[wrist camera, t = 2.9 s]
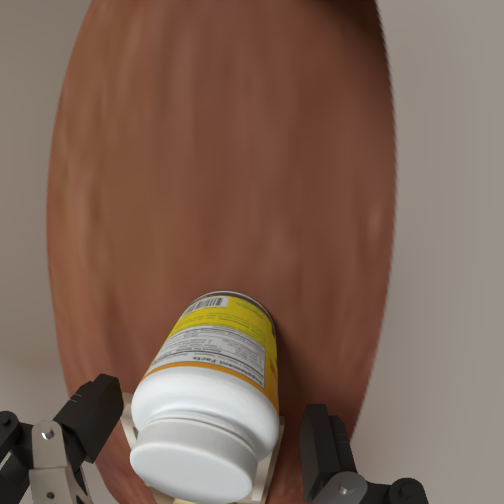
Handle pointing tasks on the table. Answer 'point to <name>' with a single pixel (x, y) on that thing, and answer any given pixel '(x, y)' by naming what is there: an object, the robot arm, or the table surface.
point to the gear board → (269, 475)
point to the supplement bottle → (209, 402)
